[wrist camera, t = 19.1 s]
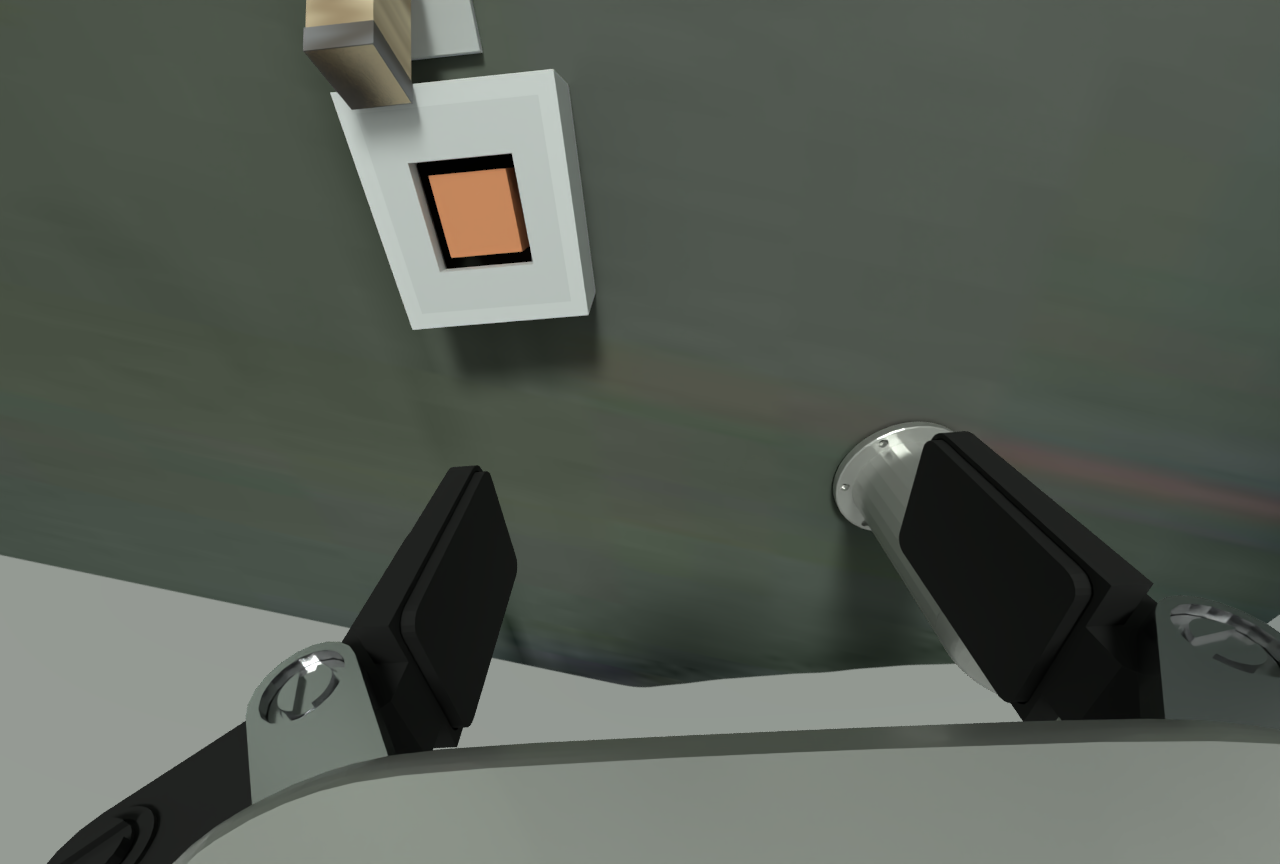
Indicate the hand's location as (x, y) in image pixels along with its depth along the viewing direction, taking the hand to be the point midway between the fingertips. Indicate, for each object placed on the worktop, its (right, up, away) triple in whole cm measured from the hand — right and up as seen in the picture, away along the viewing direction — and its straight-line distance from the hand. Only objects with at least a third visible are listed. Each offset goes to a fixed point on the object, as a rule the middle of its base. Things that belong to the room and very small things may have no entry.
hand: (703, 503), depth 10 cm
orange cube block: (-11, +17, +22) cm, 30 cm away
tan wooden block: (-16, +29, +14) cm, 35 cm away
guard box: (-11, +18, +22) cm, 31 cm away
